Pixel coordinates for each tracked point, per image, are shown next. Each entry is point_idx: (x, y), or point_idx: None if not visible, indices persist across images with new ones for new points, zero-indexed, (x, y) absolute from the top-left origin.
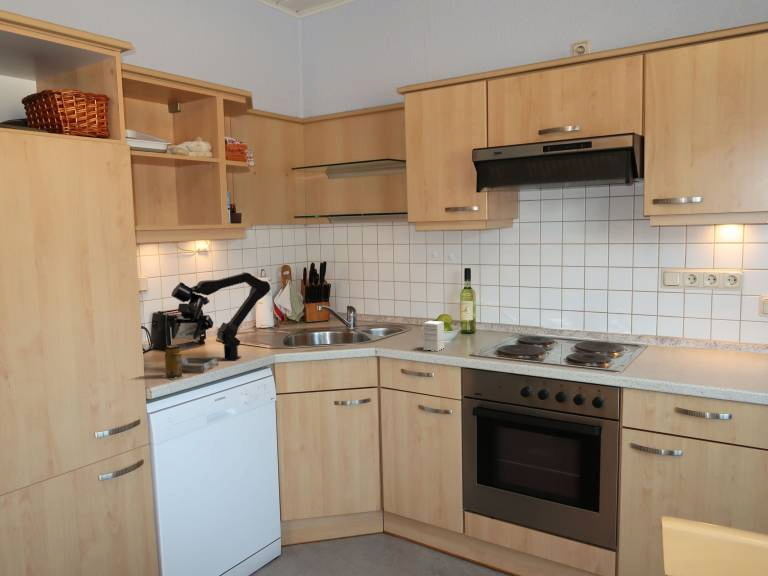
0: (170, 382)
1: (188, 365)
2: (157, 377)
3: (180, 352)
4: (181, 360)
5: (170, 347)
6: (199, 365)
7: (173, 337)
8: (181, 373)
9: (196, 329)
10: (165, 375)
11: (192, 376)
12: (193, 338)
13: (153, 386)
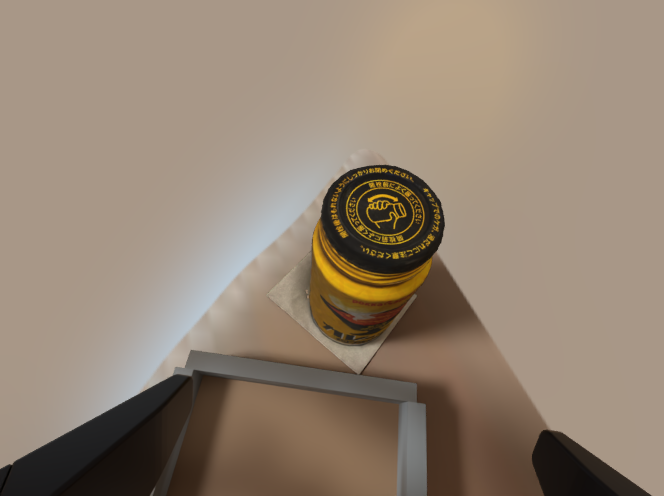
0: (322, 198)
1: (287, 365)
2: (426, 283)
3: (318, 254)
4: (312, 280)
5: (379, 166)
6: (207, 358)
7: (547, 458)
8: (309, 295)
9: (33, 491)
10: (401, 311)
11: (247, 289)
12: (191, 382)
13: (367, 155)
